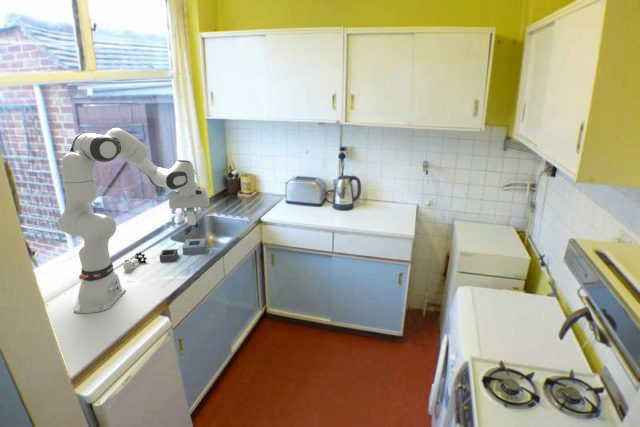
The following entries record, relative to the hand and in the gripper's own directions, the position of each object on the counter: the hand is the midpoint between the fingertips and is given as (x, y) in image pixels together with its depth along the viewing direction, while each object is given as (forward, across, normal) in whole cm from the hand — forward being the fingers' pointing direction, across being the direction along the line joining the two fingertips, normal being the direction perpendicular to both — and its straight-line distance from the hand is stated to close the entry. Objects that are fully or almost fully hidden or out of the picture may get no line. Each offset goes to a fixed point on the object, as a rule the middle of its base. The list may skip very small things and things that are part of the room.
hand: (191, 215), depth 208 cm
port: (+22, 0, 0) cm, 22 cm away
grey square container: (+21, -12, -9) cm, 26 cm away
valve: (+22, -28, -16) cm, 39 cm away
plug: (+5, 0, 0) cm, 5 cm away
